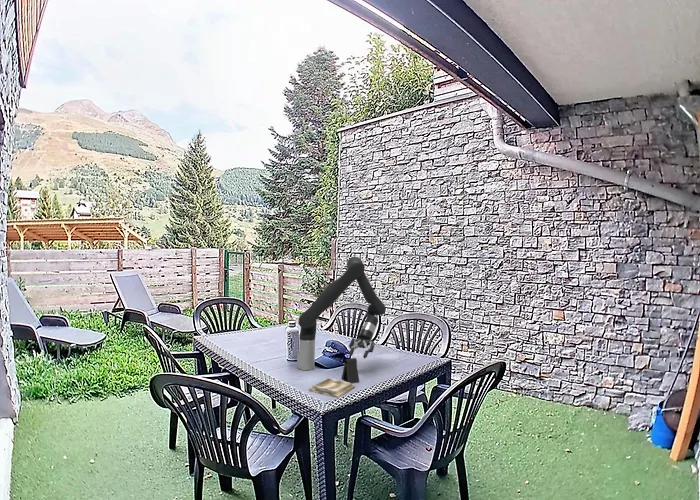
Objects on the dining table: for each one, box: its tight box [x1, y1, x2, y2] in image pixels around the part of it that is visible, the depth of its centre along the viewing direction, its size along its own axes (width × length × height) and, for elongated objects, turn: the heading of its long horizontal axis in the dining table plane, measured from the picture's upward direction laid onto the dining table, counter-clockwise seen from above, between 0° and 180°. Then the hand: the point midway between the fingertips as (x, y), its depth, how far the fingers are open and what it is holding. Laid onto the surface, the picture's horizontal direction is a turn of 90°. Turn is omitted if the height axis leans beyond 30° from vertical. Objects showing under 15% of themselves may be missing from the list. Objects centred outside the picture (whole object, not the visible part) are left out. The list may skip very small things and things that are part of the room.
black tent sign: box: [340, 357, 360, 384], centre depth 244 cm, size 9×6×12 cm, turn 30°
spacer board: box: [308, 377, 356, 399], centre depth 230 cm, size 17×17×2 cm
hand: (357, 356), depth 251 cm, fingers open, 8 cm apart
